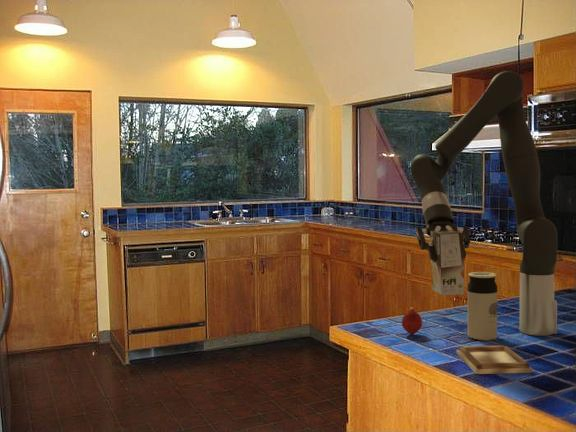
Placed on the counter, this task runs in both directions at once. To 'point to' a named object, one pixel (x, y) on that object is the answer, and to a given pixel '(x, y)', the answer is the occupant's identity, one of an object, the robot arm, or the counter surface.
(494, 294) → the travel mug
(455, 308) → the counter surface
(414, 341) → the counter surface
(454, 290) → the coffee box
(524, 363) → the wooden tray
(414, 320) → the onion
